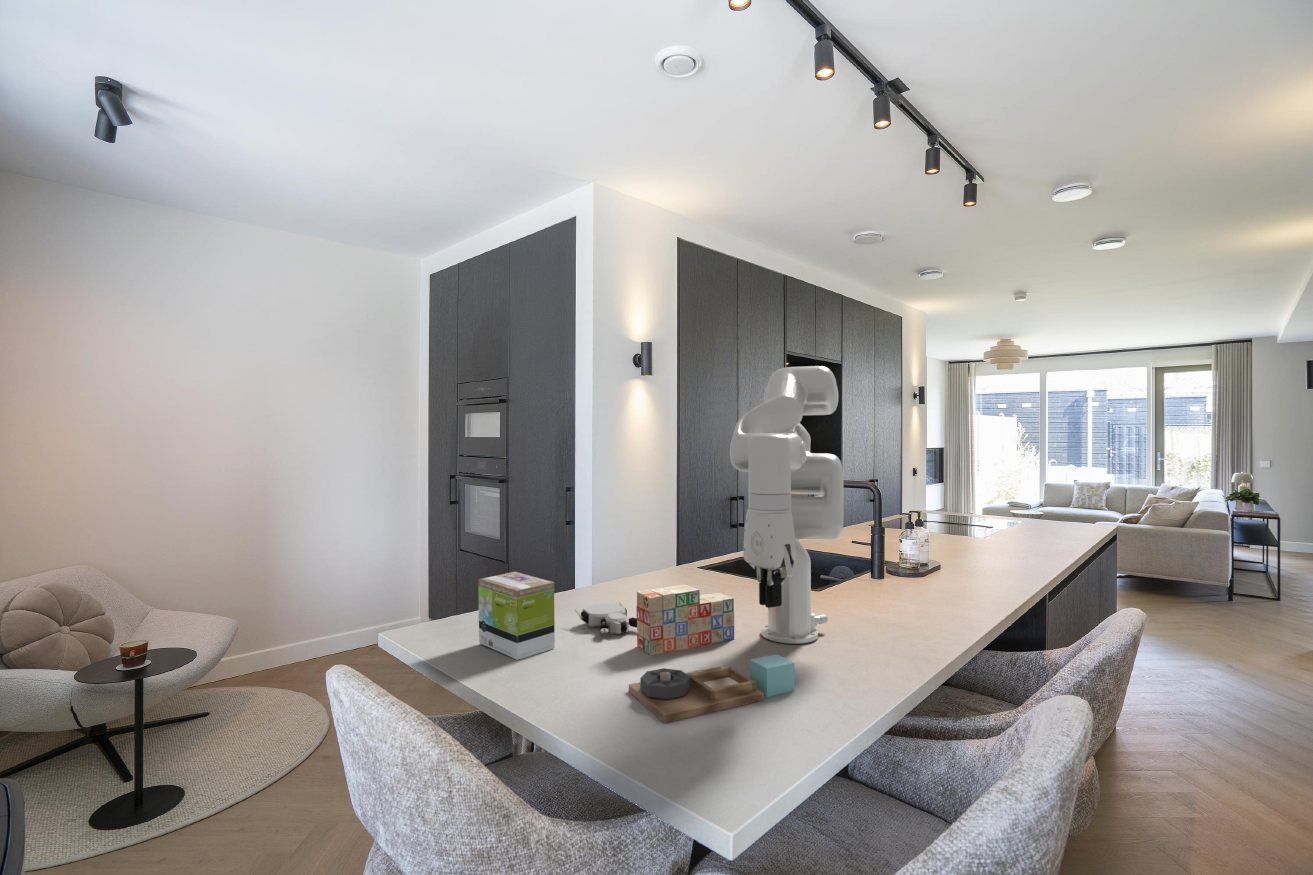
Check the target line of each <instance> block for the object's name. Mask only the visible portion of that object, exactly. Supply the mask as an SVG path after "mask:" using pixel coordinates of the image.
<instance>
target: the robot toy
mask: <svg viewBox="0 0 1313 875" xmlns="http://www.w3.org/2000/svg"><path fill="white" fill-rule="evenodd" d="M574 611H575V613H576V614H577V615H578V617H579V619H580V620H581V621H583V623H585V624H587V625H588V626H590V627H591V628H598V627H599V630H600V633H601V634H608V633H610V634H611V635H621V634H623V633H628V632H629V630H630V629H629V626H630V627H633V628H636V629H637V617H630V618H629V617H628V609H627V608H626V607H624V605H623V604H622V603H621V601H618V602H617V603H616V602H602V603H594V604H591V605H587V606H585V607H584V608H583V609H582V611H581V612H580V613H579V612H578V609H576V608H574Z"/></svg>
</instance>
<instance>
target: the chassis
mask: <svg viewBox="0 0 1313 875" xmlns="http://www.w3.org/2000/svg"><path fill="white" fill-rule="evenodd" d="M685 673H686V674H687V675H689V676H690V689H689V691H688V692H687V693H686V695H685V696H680V697H676V698H671V699H662V698H655V697H648V696H647V695H646V694H645V693H644V692H643V691H641V690H640V682H636V683H631V684H628V692H629V693H630V694H631V695H633V696H634V698H636V699H637V700H638V701H639V702H640V703H641V704H643V705H644V706H645V707H646V708H647V709H649V711H650V712H652V713H653V714H654V715H655V716H656V717H657V718H658V719H659V720H661V721H662V722H663V723H664V724H665V723H670V722H675V721H679V720H683V719H687V718H692V717H696V716H701V715H704V714H709V713H714V712H717V711H721V710H722V711H723V710H725V709H726V710H727V709H730V708H734V707H739V706H743V705H747V704H752V703H757V702H761V701H764V694H763V693H762V692H761V691H759V690H757V689H756V682H755V681H754V680H752V679H750V677H749V676H746V674H744V673H742V672H740V671H739V670H737V669H735V668H733V667H732V666H727V667H723V668H722V667H721V666H716V667H712V668H707V669H706V668H705V669H702V670H696V671H691V672H685ZM660 680H662V681H668V680H671V674H670V672H661V673H660Z"/></svg>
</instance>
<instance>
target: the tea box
mask: <svg viewBox="0 0 1313 875" xmlns="http://www.w3.org/2000/svg"><path fill="white" fill-rule="evenodd" d="M477 581H478V582H477V583H478V585H477V586H478V588H477V589H478V591H477V592H478V643H479V645H483V646H486V647H488V648H490V649H492V650H493V651H497V652H499V653H502V654H504V655H505V656H508V657H510V658H512V659H514V660H516V661H520V660H524V659H526V657H527V658H530V657H533V656H536V655H539V654H542V653H545V652H547V651H551V650H553V649H555V646H556V645H555V641H556V640H555V639H556V638H555V637H556V636H555V635H556V634H555V582H554V581H552V580H547V579H543V578H540V577H536V576H532V575H529V574H526V573H525V574H524V573H522V572H518V571H511V572H505V573H502V574H498V575H494V576H493V575H492V576H489V577H488V576H487V577H483V578H478V580H477ZM519 659H520V660H519Z"/></svg>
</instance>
